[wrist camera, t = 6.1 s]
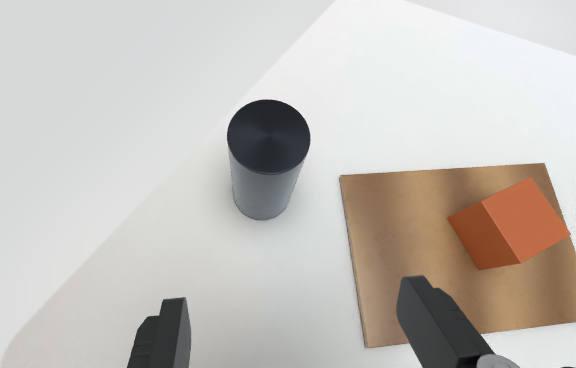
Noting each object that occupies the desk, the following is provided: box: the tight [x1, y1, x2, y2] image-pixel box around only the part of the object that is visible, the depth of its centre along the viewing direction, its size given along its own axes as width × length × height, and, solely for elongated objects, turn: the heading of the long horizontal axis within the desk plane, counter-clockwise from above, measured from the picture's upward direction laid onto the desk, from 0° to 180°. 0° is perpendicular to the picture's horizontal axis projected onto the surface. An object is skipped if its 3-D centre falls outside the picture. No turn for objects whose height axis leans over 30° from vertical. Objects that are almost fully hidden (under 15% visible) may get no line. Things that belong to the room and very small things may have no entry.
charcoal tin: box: [227, 100, 310, 220], centre depth 26 cm, size 5×5×11 cm
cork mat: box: [340, 163, 576, 348], centre depth 31 cm, size 20×14×1 cm
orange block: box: [447, 177, 571, 270], centre depth 29 cm, size 5×5×5 cm
